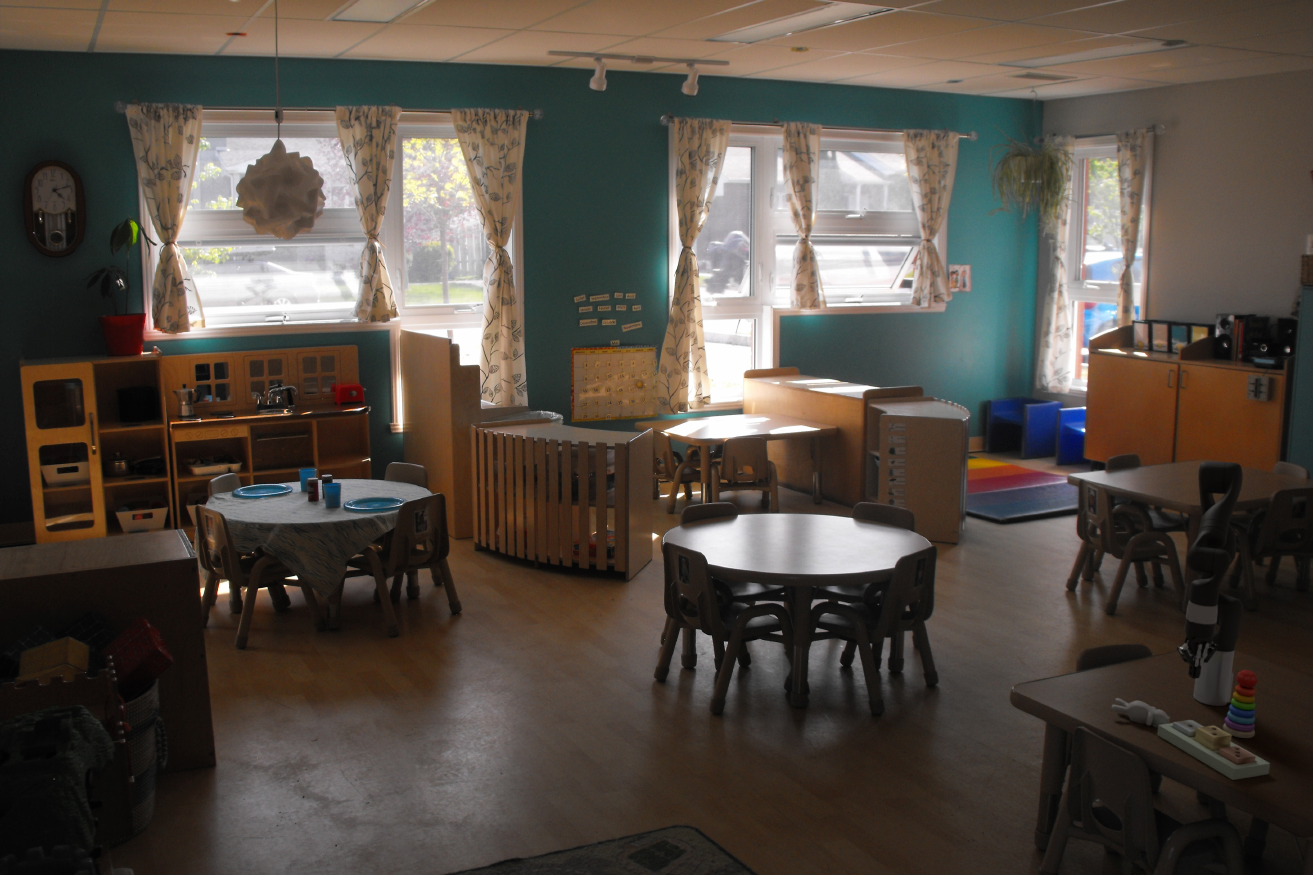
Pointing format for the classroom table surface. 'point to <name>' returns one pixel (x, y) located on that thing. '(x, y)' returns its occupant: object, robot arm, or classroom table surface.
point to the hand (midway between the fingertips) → (1193, 677)
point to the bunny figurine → (1142, 712)
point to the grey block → (1186, 727)
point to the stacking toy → (1242, 707)
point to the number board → (1213, 755)
